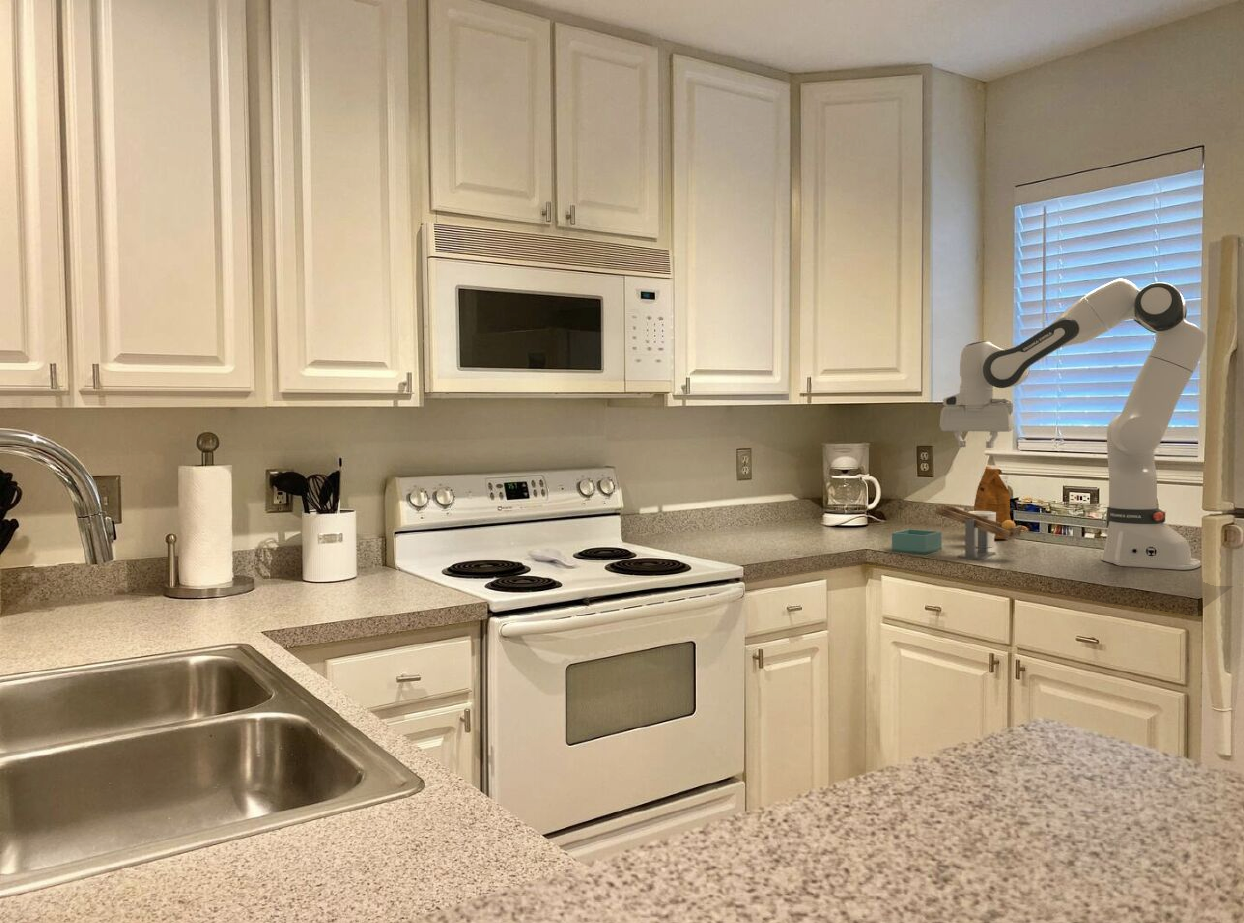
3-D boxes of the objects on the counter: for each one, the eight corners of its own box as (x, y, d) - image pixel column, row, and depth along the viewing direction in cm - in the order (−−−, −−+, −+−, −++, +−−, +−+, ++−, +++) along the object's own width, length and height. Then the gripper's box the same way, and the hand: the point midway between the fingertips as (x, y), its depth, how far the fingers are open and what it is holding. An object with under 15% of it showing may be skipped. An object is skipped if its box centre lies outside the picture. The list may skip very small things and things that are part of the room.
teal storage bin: (941, 549, 274) (941, 531, 273) (925, 554, 266) (925, 535, 266) (908, 546, 281) (908, 528, 280) (892, 550, 273) (891, 532, 273)
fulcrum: (995, 554, 263) (995, 516, 263) (979, 559, 255) (979, 520, 255) (974, 552, 267) (974, 515, 267) (957, 557, 259) (957, 519, 259)
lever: (1028, 535, 261) (1031, 523, 260) (1010, 540, 252) (1013, 528, 251) (953, 509, 275) (956, 498, 274) (933, 514, 266) (937, 502, 265)
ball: (1016, 533, 255) (1018, 520, 255) (1011, 534, 253) (1013, 522, 252) (1003, 530, 258) (1005, 518, 257) (998, 532, 255) (1000, 519, 255)
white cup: (1000, 548, 275) (1000, 513, 274) (972, 548, 275) (972, 514, 274) (990, 543, 282) (990, 510, 282) (963, 544, 283) (963, 511, 282)
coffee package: (1002, 535, 299) (1002, 465, 298) (1013, 541, 287) (1013, 468, 286) (969, 535, 301) (969, 466, 299) (979, 541, 288) (979, 469, 287)
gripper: (1017, 398, 265) (1016, 447, 266) (947, 399, 279) (946, 446, 280) (1008, 398, 261) (1008, 448, 262) (937, 399, 275) (937, 447, 276)
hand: (975, 447), depth 271 cm, fingers open, 7 cm apart
